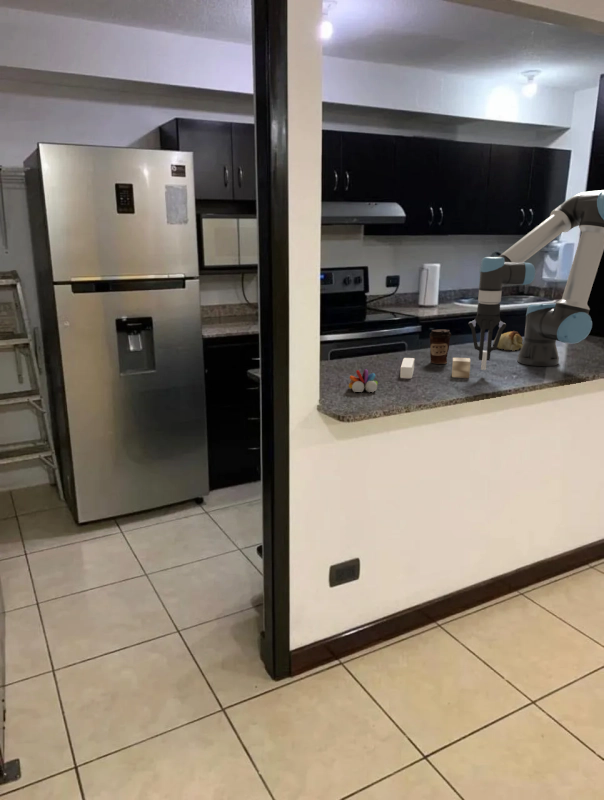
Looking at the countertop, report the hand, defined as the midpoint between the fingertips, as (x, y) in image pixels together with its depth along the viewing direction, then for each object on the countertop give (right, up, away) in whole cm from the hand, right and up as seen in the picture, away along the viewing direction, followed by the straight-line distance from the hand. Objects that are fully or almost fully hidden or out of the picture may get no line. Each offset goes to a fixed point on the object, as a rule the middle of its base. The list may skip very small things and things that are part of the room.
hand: (483, 369), depth 212 cm
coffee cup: (-11, +3, +23) cm, 26 cm away
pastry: (+26, +12, +51) cm, 59 cm away
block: (-7, -2, +3) cm, 8 cm away
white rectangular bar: (-26, -1, +7) cm, 27 cm away
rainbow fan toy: (-45, -8, -16) cm, 48 cm away
